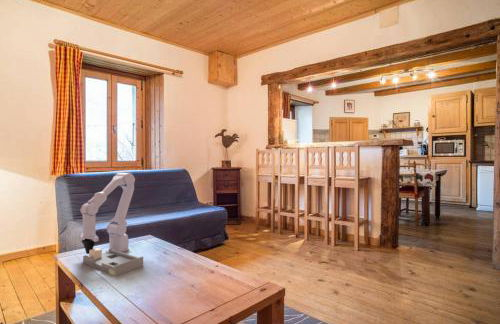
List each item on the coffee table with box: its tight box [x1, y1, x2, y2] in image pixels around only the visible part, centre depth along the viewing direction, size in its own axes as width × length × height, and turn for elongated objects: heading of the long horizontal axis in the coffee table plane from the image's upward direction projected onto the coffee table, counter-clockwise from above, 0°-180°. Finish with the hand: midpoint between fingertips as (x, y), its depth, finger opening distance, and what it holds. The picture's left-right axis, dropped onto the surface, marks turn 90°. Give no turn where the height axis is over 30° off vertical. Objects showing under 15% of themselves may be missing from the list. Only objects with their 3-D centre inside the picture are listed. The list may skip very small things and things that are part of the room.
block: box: [88, 247, 103, 259], centre depth 144 cm, size 4×4×4 cm
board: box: [82, 248, 144, 277], centre depth 140 cm, size 14×28×4 cm, turn 57°
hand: (89, 253), depth 148 cm, fingers closed
